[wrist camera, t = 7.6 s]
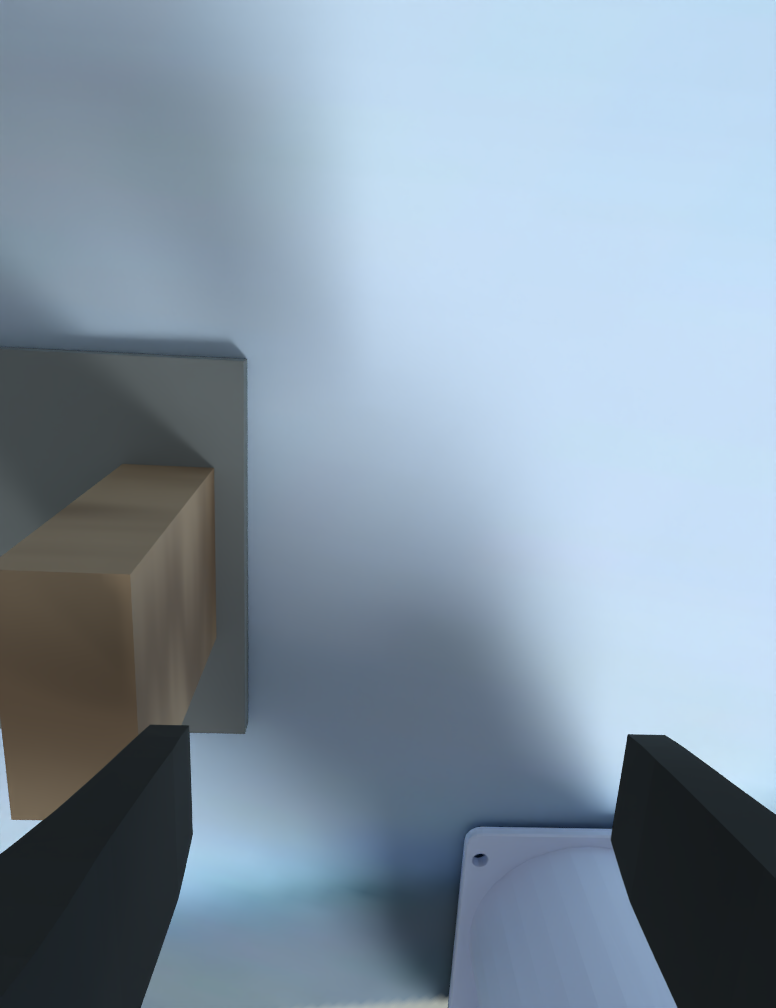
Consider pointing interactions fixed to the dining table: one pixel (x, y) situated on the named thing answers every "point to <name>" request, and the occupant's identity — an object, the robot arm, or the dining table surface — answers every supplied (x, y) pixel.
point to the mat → (142, 441)
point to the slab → (103, 627)
